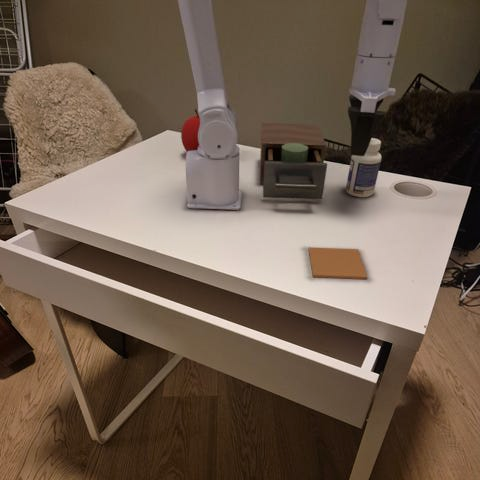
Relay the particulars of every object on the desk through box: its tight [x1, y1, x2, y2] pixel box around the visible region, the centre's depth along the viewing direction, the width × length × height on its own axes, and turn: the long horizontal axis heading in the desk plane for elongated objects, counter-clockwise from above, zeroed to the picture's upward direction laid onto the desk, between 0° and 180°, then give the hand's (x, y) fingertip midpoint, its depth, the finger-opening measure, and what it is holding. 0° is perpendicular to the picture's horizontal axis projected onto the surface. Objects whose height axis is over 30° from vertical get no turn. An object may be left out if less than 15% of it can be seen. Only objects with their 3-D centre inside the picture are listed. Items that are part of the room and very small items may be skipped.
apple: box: [180, 108, 200, 153], centre depth 93 cm, size 9×9×10 cm
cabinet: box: [259, 122, 327, 186], centre depth 86 cm, size 14×12×8 cm
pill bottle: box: [345, 137, 382, 198], centre depth 78 cm, size 5×5×10 cm
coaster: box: [308, 246, 368, 280], centre depth 61 cm, size 8×8×1 cm
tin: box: [281, 143, 308, 162], centre depth 77 cm, size 5×5×6 cm
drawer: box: [262, 147, 328, 200], centre depth 78 cm, size 17×11×6 cm, turn 177°
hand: (357, 147), depth 71 cm, fingers open, 7 cm apart
